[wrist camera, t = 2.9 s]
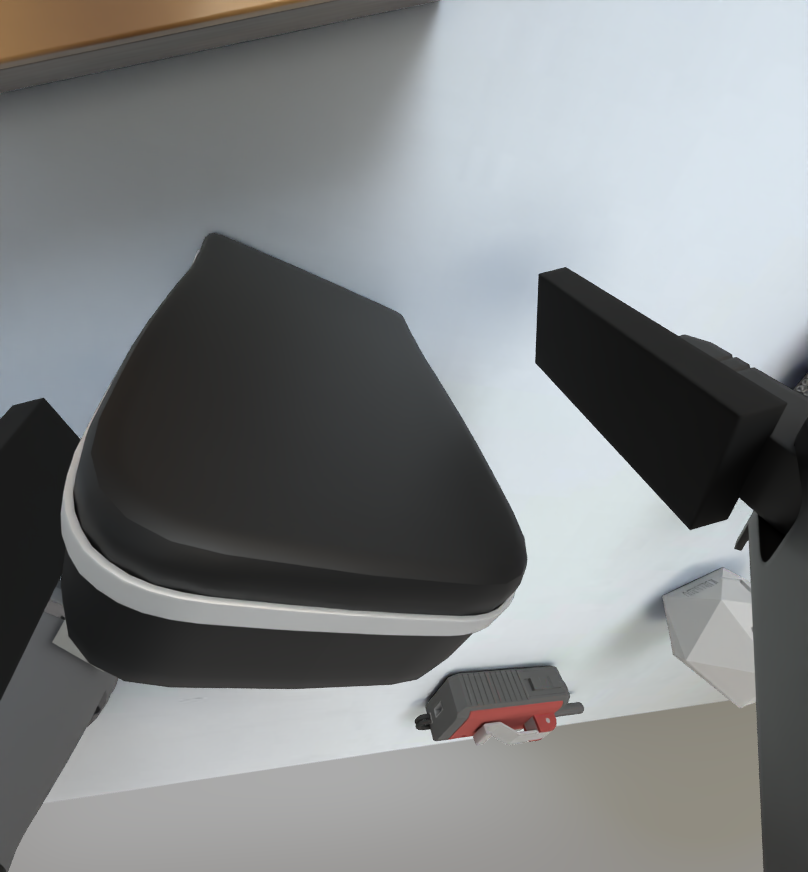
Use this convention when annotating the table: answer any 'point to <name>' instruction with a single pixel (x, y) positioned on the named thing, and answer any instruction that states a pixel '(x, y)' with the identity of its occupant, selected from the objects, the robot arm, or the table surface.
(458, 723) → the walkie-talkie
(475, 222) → the table surface
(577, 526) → the table surface
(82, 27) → the shelf riser
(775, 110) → the table surface
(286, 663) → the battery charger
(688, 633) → the die
